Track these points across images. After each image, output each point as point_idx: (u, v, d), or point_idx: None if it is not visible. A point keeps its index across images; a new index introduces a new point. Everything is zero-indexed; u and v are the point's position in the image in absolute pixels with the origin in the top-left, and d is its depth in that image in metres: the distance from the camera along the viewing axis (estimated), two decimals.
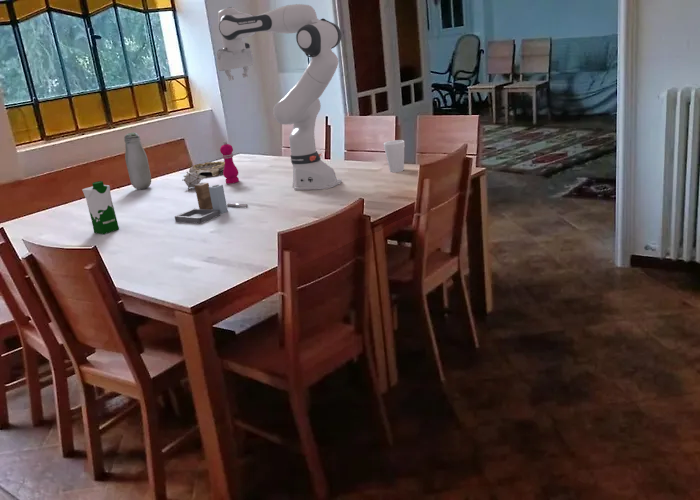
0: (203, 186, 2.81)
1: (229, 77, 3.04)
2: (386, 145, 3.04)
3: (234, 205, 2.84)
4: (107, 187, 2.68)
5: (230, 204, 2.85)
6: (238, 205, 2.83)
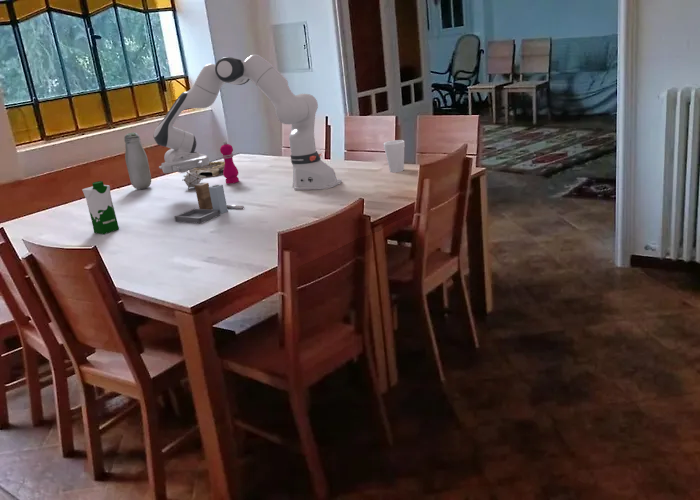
0: (203, 186, 2.81)
1: (176, 169, 2.91)
2: (386, 145, 3.04)
3: None
4: (107, 187, 2.68)
5: None
6: None
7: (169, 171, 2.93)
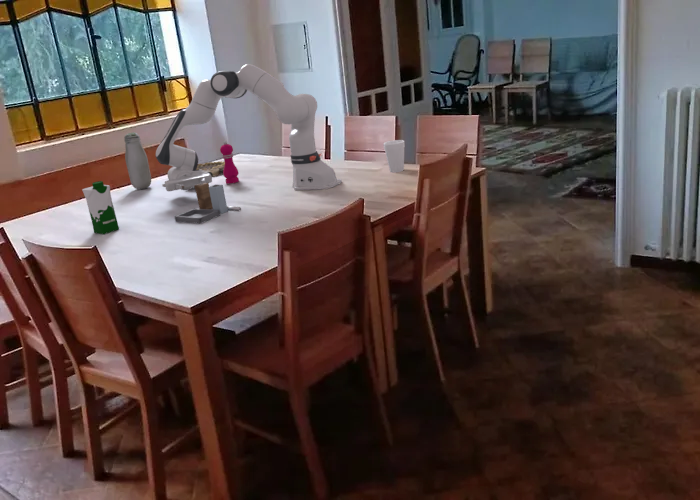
0: (203, 186, 2.81)
1: (179, 187, 2.93)
2: (386, 145, 3.04)
3: (227, 208, 2.81)
4: (107, 187, 2.68)
5: None
6: (231, 208, 2.80)
7: (172, 189, 2.95)
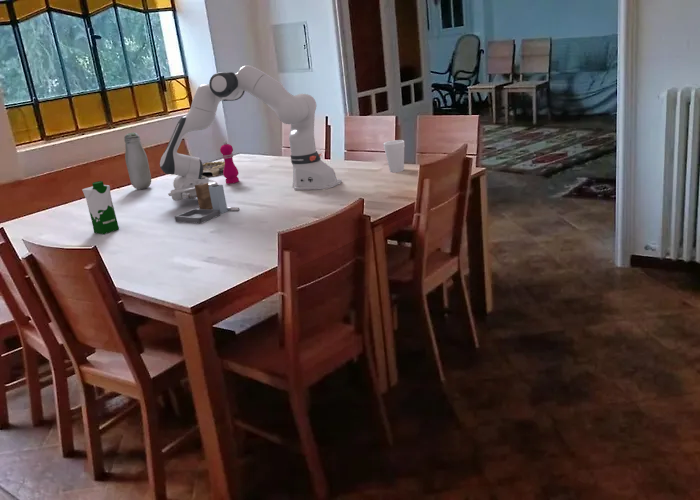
0: (203, 186, 2.81)
1: (186, 196, 2.89)
2: (386, 145, 3.04)
3: None
4: (107, 187, 2.68)
5: None
6: None
7: (178, 198, 2.91)
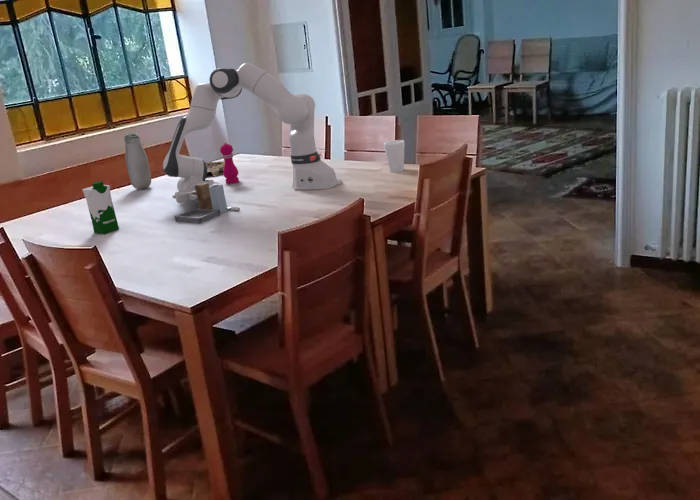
0: (203, 186, 2.81)
1: (193, 197, 2.83)
2: (386, 145, 3.04)
3: None
4: (107, 187, 2.68)
5: None
6: (231, 210, 2.80)
7: (183, 201, 2.85)
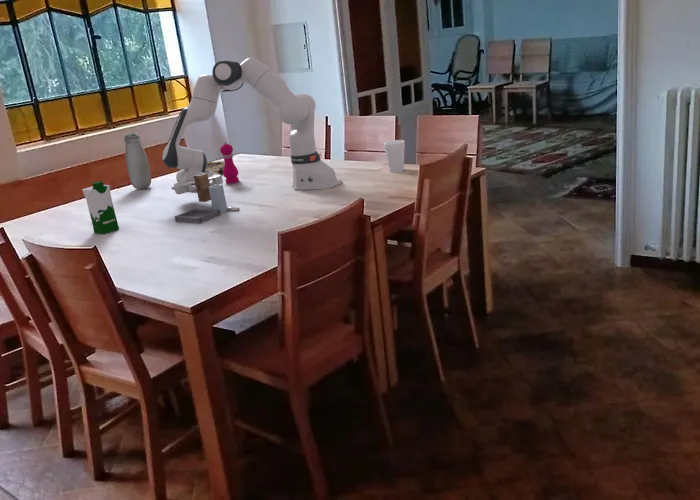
0: (202, 176, 2.80)
1: (193, 188, 2.82)
2: (386, 145, 3.04)
3: None
4: (107, 187, 2.68)
5: None
6: None
7: (182, 192, 2.84)
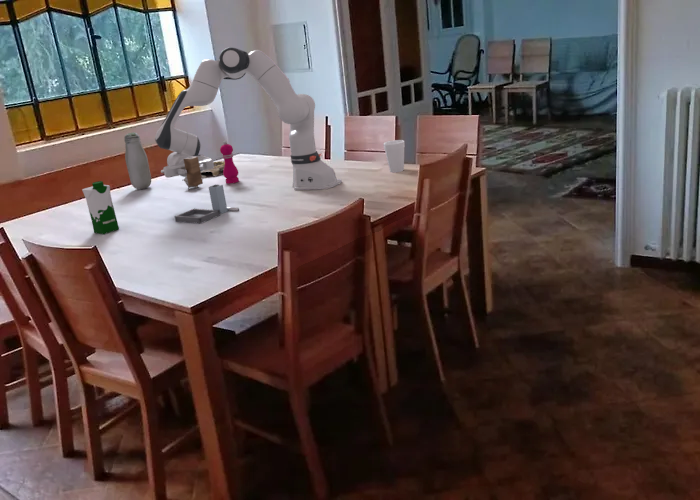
0: (192, 160, 2.73)
1: (182, 172, 2.74)
2: (386, 145, 3.04)
3: None
4: (107, 187, 2.68)
5: None
6: None
7: (171, 175, 2.76)
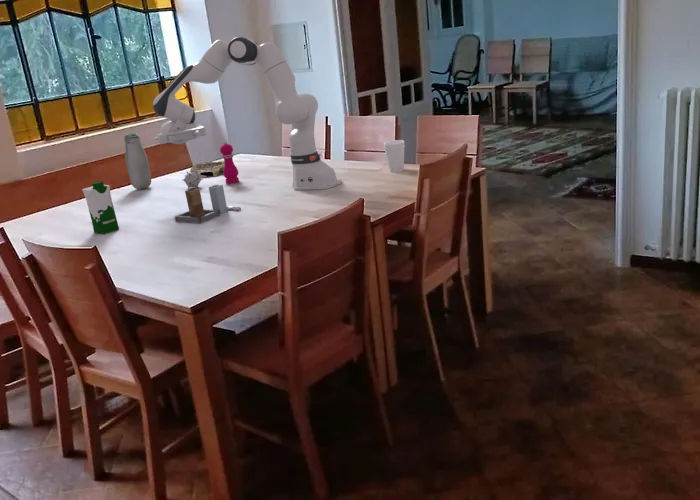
0: (194, 192, 2.70)
1: (172, 138, 2.83)
2: (386, 145, 3.04)
3: (227, 209, 2.81)
4: (107, 187, 2.68)
5: None
6: (231, 209, 2.80)
7: (165, 141, 2.85)
